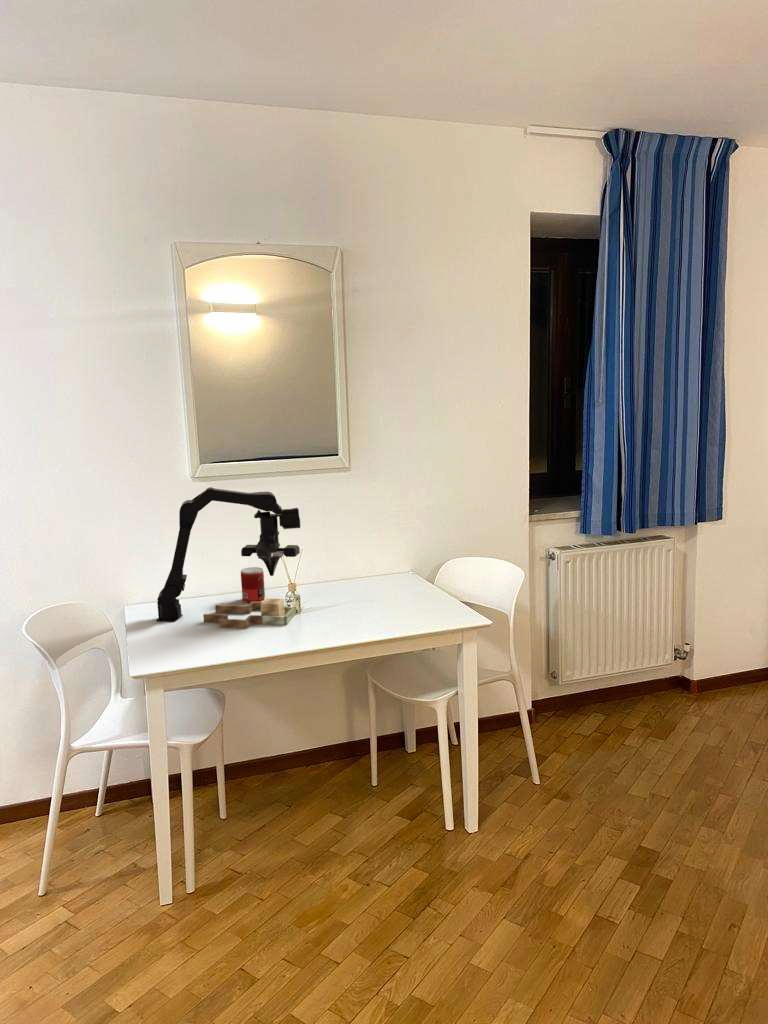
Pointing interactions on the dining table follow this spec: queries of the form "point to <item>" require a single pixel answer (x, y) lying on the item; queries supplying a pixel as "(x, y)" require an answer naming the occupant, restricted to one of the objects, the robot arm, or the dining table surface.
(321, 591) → the dining table surface
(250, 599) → the canned food
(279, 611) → the block
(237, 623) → the channel
